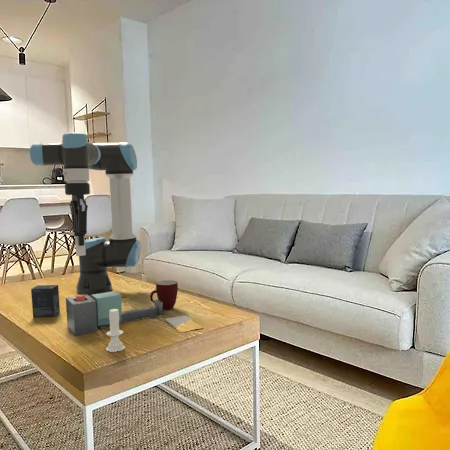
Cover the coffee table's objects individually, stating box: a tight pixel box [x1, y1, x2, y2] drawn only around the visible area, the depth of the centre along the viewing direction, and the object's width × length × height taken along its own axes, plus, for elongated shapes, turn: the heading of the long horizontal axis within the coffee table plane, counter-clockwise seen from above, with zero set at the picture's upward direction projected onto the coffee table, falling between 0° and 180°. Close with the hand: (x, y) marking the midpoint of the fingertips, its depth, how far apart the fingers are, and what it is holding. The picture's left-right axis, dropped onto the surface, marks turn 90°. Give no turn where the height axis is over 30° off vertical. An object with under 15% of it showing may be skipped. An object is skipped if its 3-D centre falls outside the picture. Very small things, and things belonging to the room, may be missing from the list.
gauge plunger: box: [75, 294, 86, 302], centre depth 143 cm, size 3×3×4 cm
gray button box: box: [65, 294, 98, 336], centre depth 143 cm, size 10×7×10 cm
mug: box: [149, 279, 179, 311], centre depth 164 cm, size 10×8×10 cm
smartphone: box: [164, 314, 192, 328], centre depth 147 cm, size 8×1×15 cm
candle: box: [105, 309, 126, 353], centre depth 126 cm, size 5×5×12 cm
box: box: [30, 284, 61, 318], centre depth 160 cm, size 8×6×11 cm
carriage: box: [91, 290, 123, 326], centre depth 148 cm, size 6×8×9 cm
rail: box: [97, 299, 164, 330], centre depth 152 cm, size 6×24×5 cm, turn 123°
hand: (80, 255), depth 142 cm, fingers closed
